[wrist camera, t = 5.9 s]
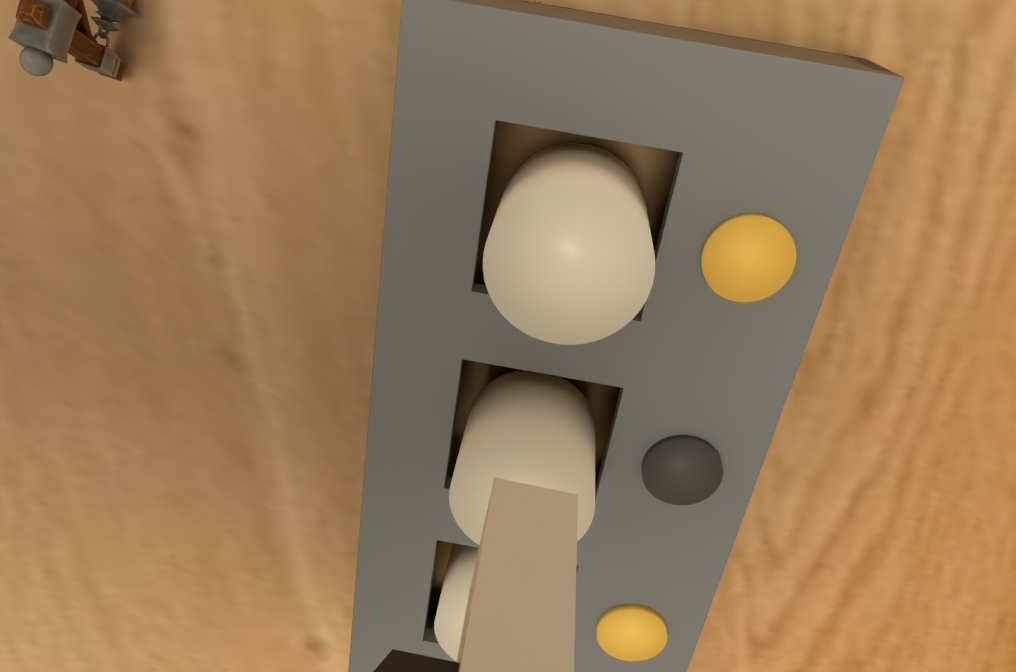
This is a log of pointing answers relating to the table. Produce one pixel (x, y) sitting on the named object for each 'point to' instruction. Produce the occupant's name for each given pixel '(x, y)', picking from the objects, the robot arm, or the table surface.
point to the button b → (525, 446)
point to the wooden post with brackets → (68, 35)
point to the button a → (454, 598)
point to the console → (638, 345)
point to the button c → (570, 246)
